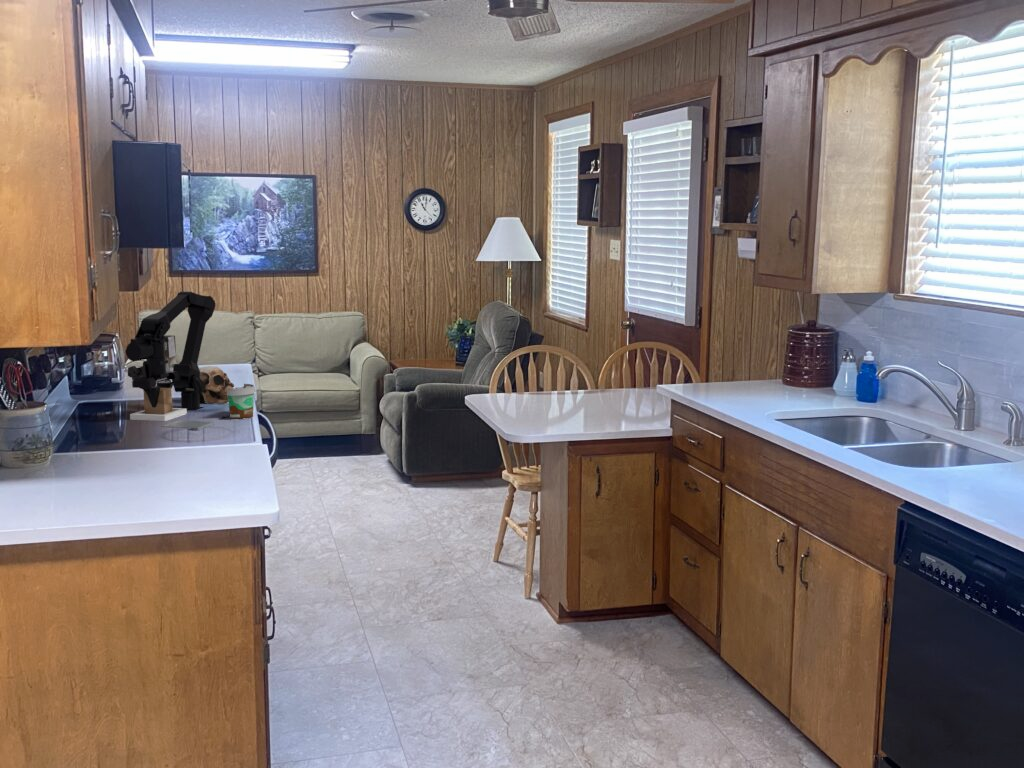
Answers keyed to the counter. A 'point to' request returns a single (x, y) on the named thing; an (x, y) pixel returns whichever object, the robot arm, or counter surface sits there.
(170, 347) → the coffee box
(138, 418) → the pocket tray
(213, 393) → the brown skull
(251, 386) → the food container
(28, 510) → the counter surface
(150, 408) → the walnut block
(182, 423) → the slate trivet
